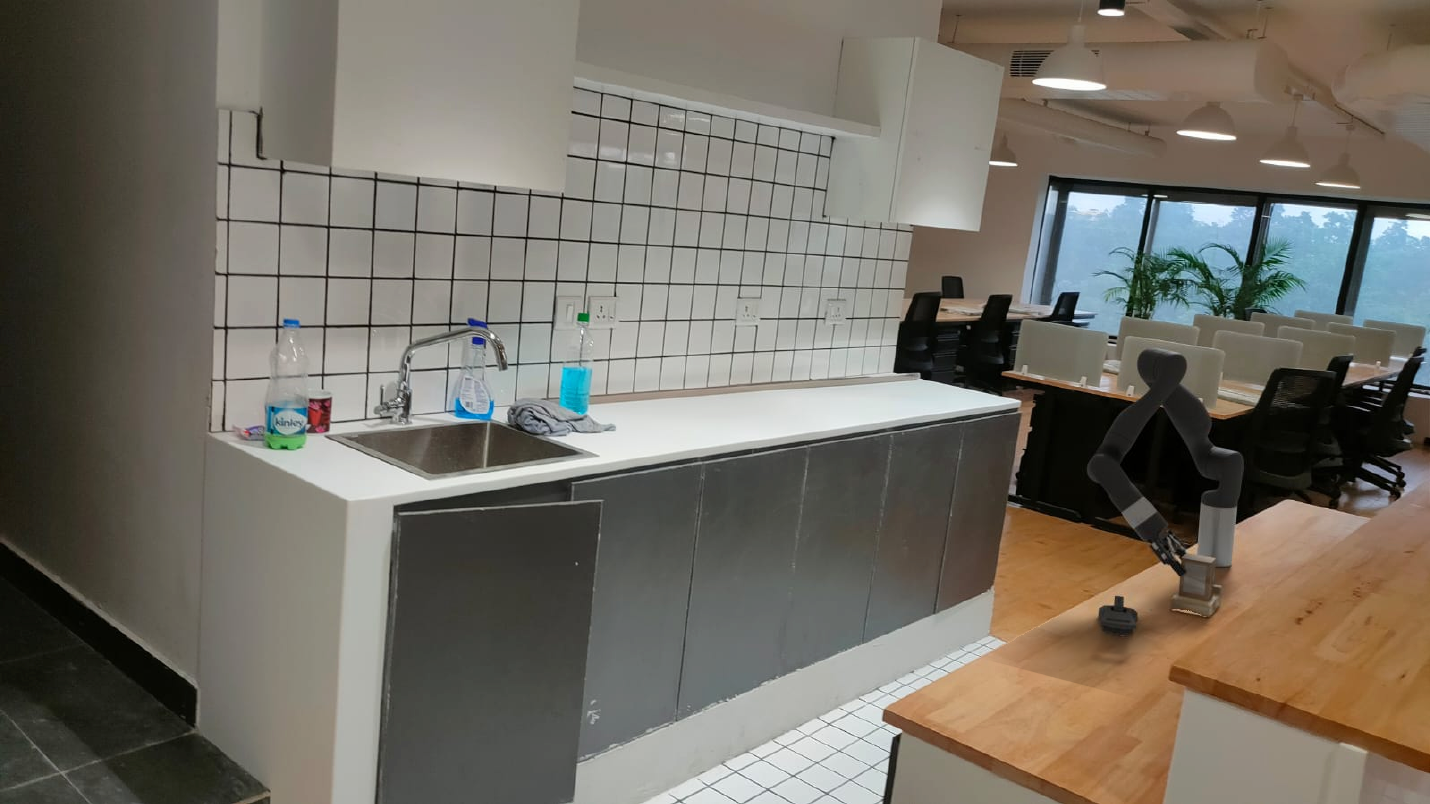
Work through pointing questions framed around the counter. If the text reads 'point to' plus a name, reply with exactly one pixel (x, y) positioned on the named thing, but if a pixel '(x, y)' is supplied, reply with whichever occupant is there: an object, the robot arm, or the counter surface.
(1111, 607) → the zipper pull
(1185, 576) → the frame
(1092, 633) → the counter surface
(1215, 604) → the ledge
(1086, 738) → the counter surface
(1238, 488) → the robot arm
